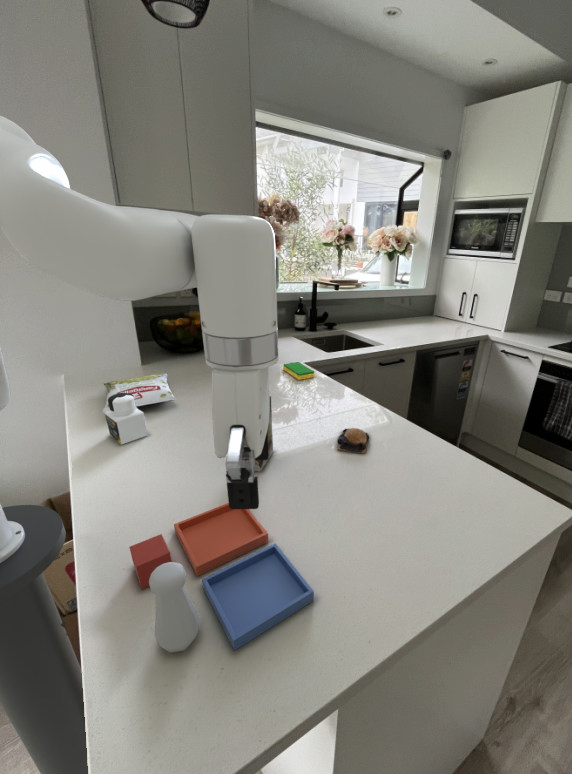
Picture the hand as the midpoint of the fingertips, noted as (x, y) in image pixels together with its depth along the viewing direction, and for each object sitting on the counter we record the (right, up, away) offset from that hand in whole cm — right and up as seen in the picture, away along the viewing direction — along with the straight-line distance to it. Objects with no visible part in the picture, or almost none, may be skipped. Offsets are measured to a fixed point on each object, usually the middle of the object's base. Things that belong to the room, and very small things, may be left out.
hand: (251, 480), depth 46 cm
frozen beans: (-55, +11, +78) cm, 96 cm away
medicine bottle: (-46, 0, +56) cm, 73 cm away
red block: (-20, -19, +17) cm, 32 cm away
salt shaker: (-12, -24, +7) cm, 27 cm away
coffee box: (-10, -5, +48) cm, 49 cm away
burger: (+15, -2, +58) cm, 60 cm away
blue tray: (-2, -21, +13) cm, 25 cm away
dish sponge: (-5, +21, +106) cm, 108 cm away
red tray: (-11, -16, +24) cm, 31 cm away
